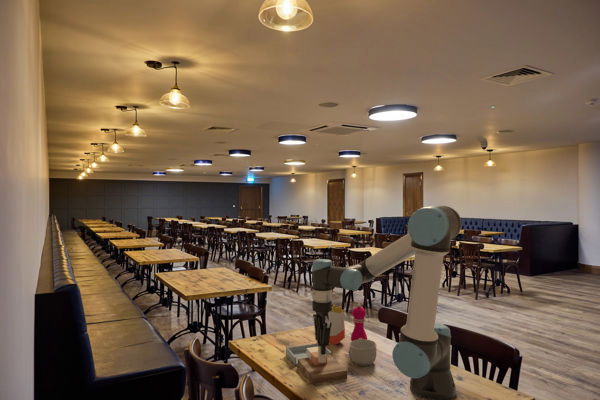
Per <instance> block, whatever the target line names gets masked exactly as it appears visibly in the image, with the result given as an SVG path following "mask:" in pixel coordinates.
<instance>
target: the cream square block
mask: <svg viewBox="0 0 600 400" xmlns="http://www.w3.org/2000/svg"><path fill="white" fill-rule="evenodd" d="M311 352H318V347H311V348H306V356H307V357H308V358H309V359H310V360H311Z"/></svg>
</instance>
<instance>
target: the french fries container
mask: <svg viewBox="0 0 600 400" xmlns="http://www.w3.org/2000/svg"><path fill="white" fill-rule="evenodd" d="M342 308H343V307H342V306H336V304H332V310H331V311H330V312H329V313H328V316H329V322H331V323H332V326H331V330H330V339H329V344H330V345H333V346H334V345H336V346H337V344H339V343H340V342H342V341H343V340H344V339H345V338H346V333H345V332H346V329H345V327H346V326H345V314H344V313H345V312H344V310H343V309H342Z"/></svg>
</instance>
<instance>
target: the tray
mask: <svg viewBox="0 0 600 400" xmlns="http://www.w3.org/2000/svg"><path fill="white" fill-rule="evenodd" d="M311 347H318V343H317V342H316V343H309V344H302V345H294V346H293V345H292V346H286V347H285V357H287V358H288V360H289V361H290V362H291V363H292V364H293V366H294V367H298V359H301V358H308V357H307V356H306V348H311ZM326 355H331V356H332V357H333V353H332V351H331V350H329V349H328V348H327V347H326Z"/></svg>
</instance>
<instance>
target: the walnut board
mask: <svg viewBox="0 0 600 400" xmlns="http://www.w3.org/2000/svg"><path fill="white" fill-rule="evenodd" d="M297 368H298V369H299V370H300V372H301V373H302V374H303V375H304V376H305V378H306V379H307V380H308V381H309V383H310V384H311V385H316V384H323V383H328V382H333V381H335V382H336V381H340V380H347V379H348V369H347V368H345V367H344V366H343V365H342V364H341V363H340V362H339V361H338V360H337V359H336V358H335V357H333V355H332V356H331V355H327V364H320V365H315V364H314V363H313V362H312V361H311V360H310V359H309V358H301V359H298V366H297Z"/></svg>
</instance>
